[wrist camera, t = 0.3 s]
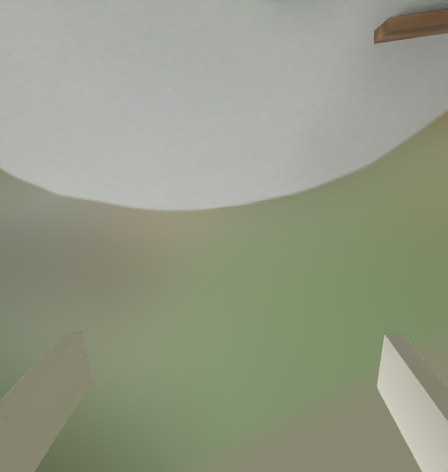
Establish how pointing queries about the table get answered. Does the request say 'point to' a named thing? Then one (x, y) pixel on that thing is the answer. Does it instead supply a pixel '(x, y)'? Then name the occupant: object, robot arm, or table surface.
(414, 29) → the bay
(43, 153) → the table surface
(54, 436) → the robot arm
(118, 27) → the table surface
